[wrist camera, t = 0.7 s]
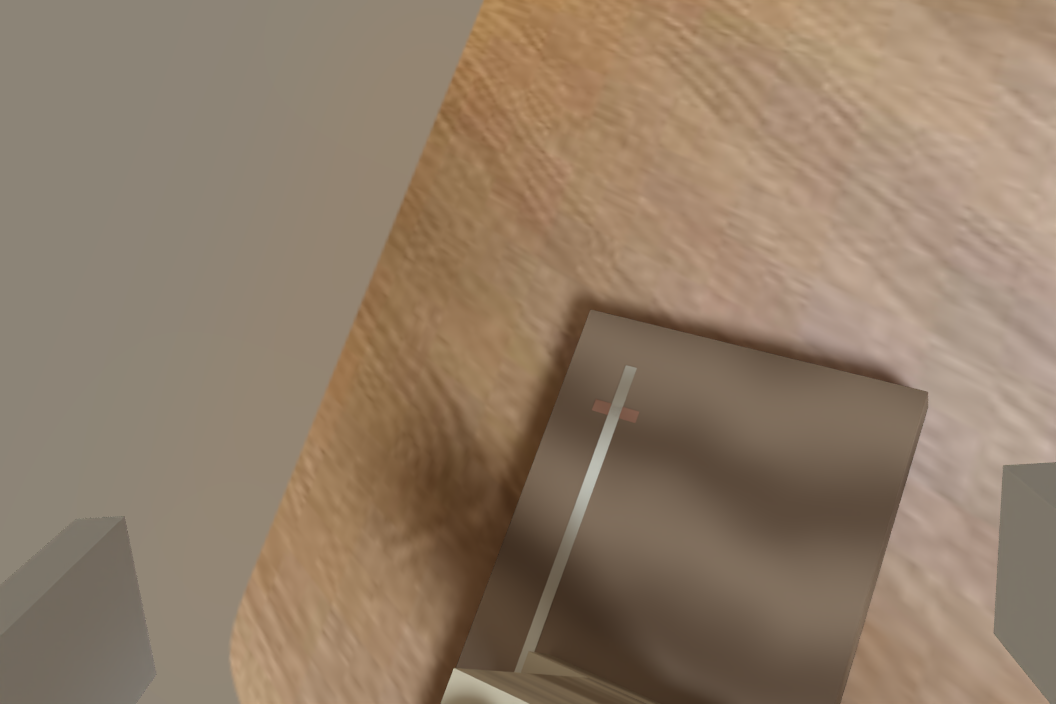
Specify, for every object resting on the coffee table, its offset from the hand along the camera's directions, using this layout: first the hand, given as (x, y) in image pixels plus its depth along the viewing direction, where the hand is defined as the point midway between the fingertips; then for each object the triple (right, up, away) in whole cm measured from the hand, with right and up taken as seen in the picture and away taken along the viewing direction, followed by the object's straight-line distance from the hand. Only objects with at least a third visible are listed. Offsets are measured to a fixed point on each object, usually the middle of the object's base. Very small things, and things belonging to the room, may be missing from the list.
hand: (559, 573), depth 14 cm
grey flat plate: (+5, -7, +24) cm, 25 cm away
